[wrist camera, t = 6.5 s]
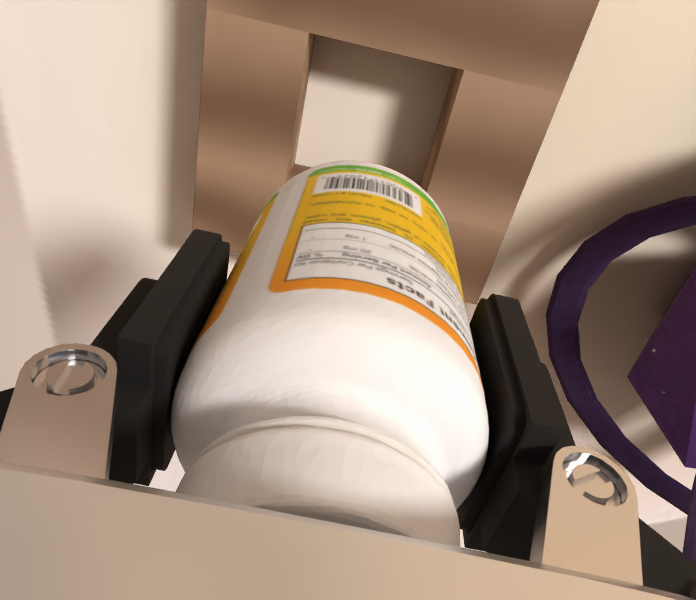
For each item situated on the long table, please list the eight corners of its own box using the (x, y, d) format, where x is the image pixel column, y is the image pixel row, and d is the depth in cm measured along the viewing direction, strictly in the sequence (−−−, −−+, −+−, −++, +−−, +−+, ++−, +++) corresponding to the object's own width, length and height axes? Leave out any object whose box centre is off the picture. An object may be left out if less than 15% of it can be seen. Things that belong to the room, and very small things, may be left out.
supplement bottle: (320, 356, 17) (254, 728, 9) (216, 215, 15) (-4, 541, 7) (484, 287, 15) (586, 668, 7) (394, 115, 13) (396, 389, 5)
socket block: (233, -113, 24) (214, -121, 21) (585, -24, 25) (607, -21, 22) (207, 219, 32) (191, 242, 30) (470, 277, 33) (476, 304, 31)
